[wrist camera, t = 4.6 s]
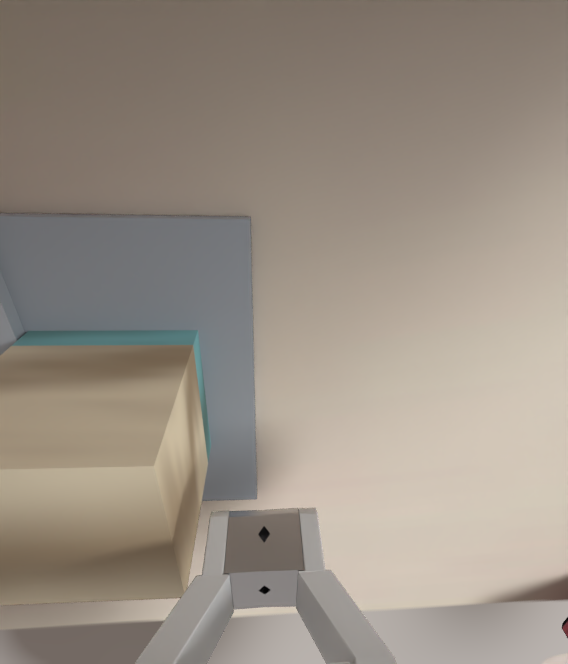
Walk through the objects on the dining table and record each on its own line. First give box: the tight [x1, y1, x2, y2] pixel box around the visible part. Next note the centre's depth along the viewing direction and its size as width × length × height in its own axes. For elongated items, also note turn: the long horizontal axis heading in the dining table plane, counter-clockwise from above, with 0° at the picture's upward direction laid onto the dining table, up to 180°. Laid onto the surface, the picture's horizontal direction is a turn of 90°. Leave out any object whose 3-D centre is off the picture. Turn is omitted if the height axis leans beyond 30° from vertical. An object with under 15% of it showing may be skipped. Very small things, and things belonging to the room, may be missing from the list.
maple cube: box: [0, 330, 211, 605], centre depth 12 cm, size 6×6×6 cm
